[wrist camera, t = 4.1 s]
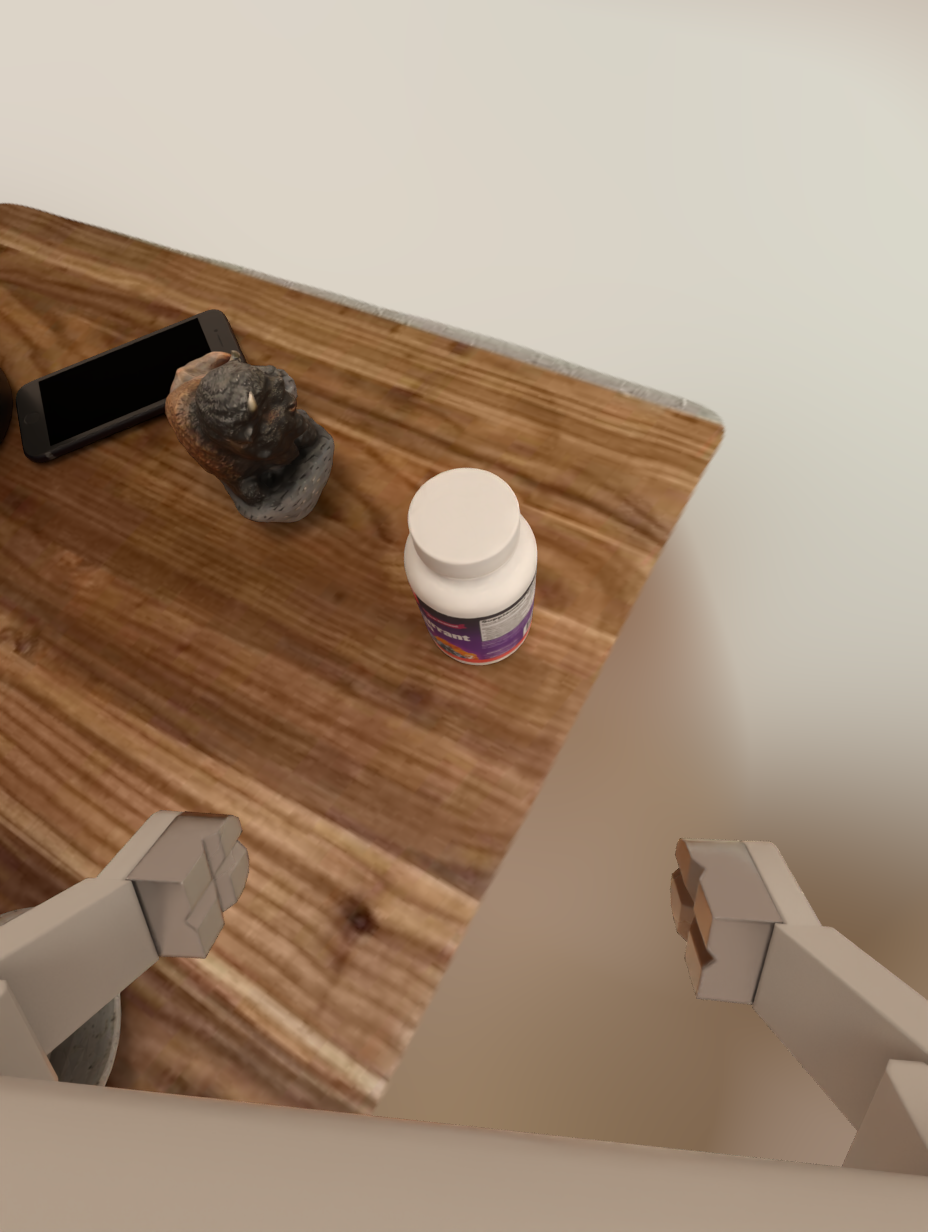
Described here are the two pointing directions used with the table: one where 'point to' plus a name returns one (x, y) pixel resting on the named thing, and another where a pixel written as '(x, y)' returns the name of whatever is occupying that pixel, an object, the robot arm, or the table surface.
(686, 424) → the table surface
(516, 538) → the pill bottle
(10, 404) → the mug
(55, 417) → the smartphone
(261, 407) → the bison figurine
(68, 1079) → the ceramic mug
